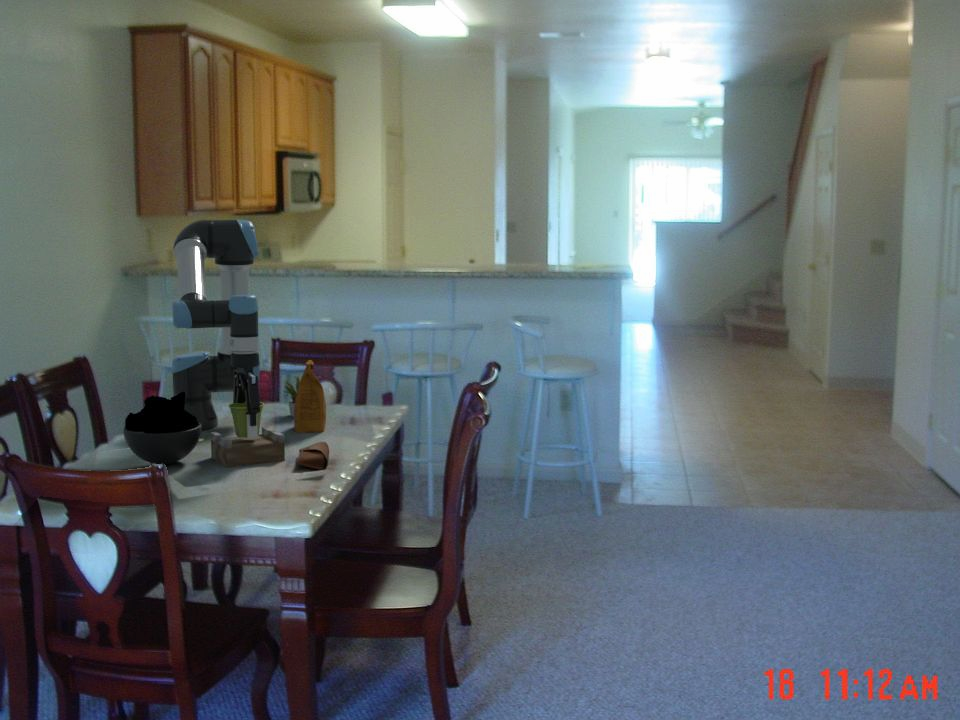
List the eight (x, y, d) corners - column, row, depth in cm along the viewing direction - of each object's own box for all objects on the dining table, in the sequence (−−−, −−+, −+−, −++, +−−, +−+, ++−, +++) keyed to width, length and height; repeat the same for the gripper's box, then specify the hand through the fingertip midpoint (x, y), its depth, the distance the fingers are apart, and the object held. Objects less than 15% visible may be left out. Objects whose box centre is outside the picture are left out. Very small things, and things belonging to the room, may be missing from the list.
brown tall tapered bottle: (327, 427, 323) (325, 358, 320) (326, 434, 310) (325, 363, 308) (295, 428, 321) (293, 359, 319) (293, 435, 309) (291, 364, 307)
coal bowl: (130, 475, 258) (127, 402, 256) (119, 459, 276) (116, 391, 274) (210, 467, 267) (207, 396, 265) (194, 452, 285) (192, 386, 283)
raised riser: (211, 457, 279) (210, 432, 278) (267, 451, 287) (266, 426, 286) (226, 467, 267) (226, 441, 266) (284, 460, 275) (284, 435, 274)
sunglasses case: (297, 448, 280) (313, 431, 280) (316, 465, 282) (332, 447, 282) (294, 463, 263) (312, 443, 263) (315, 480, 264) (332, 461, 264)
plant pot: (256, 439, 271) (255, 407, 270) (223, 438, 273) (222, 406, 272) (270, 433, 280) (269, 402, 279) (238, 431, 282) (237, 401, 281)
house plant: (325, 416, 343) (324, 368, 341) (325, 423, 329) (324, 373, 327) (282, 417, 341) (281, 369, 339) (280, 424, 327) (279, 374, 325)
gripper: (219, 349, 281) (222, 429, 283) (243, 357, 263) (246, 443, 266) (245, 347, 284) (248, 427, 287) (271, 355, 267) (273, 440, 269)
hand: (247, 434), depth 276 cm, fingers closed on plant pot, 8 cm apart
